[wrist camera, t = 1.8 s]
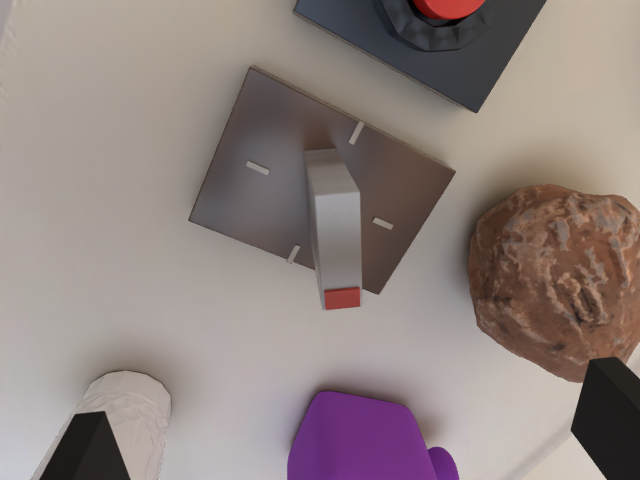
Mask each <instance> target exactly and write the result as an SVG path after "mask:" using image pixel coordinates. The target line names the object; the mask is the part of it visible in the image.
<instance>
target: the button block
mask: <svg viewBox="0 0 640 480" xmlns="http://www.w3.org/2000/svg"><path fill="white" fill-rule="evenodd" d="M545 2H546V0H485V1H484V2H483V4H482V5H481V6H480V7H479V8H478V9H477V10H475V11H474V12H473V13H471V14H469V15H467V16H465V17H462V18H458V19H449V20H435V19H431V18H429V17H427V16H425V15H424V14H422V13H421V12H420V11H419V10H418V8H417V7H416V6H415V4H414V2H413V0H297V3H296V5H295V7H294V10H293V14H295V15H297V16H299V17H300V18H302V19H304V20H306V21H308V22H309V23H311V24H313V25H315V26H317V27H318V28H320V29H322V30H324V31H326V32H327V33H329V34H331V35H333V36H334V37H336V38H338V39H340V40H342V41H343V42H345V43H347V44H349V45H351V46H352V47H354V48H356V49H358V50H360V51H361V52H363V53H365V54H367V55H368V56H370V57H372V58H374V59H376V60H377V61H379V62H381V63H383V64H385V65H386V66H388V67H390V68H392V69H393V70H395V71H397V72H399V73H401V74H402V75H404V76H406V77H408V78H410V79H411V80H413V81H415V82H417V83H419V84H420V85H422V86H424V87H426V88H427V89H429V90H431V91H433V92H435V93H436V94H438V95H440V96H442V97H444V98H445V99H447V100H449V101H451V102H452V103H454V104H456V105H458V106H460V107H461V108H464V109H466V110H469V111H471V112H474V113H478V111H479V109H480V108H481V106H482V105H483V103H484V101H485V100H486V98H487V96H488V95H489V93H490V92H491V90H492V88H493V87H494V85H495V83H496V82H497V80H498V79H499V77H500V75H501V74H502V72H503V70H504V69H505V67H506V66H507V64H508V62H509V61H510V59H511V57H512V56H513V54H514V52H515V51H516V49H517V48H518V46H519V44H520V43H521V41H522V39H523V38H524V36H525V35H526V33H527V31H528V30H529V28H530V26H531V25H532V23H533V22H534V20H535V18H536V17H537V15H538V13H539V12H540V10H541V9H542V7H543V5H544V4H545Z"/></svg>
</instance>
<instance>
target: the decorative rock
mask: <svg viewBox="0 0 640 480" xmlns="http://www.w3.org/2000/svg"><path fill="white" fill-rule="evenodd" d="M470 250H471V252H470V256H469V267H468V275H469V283H470V294H471V297H472V301H473V306H474V311H475V315H476V320H477V326H478V327H479V328H480V329H481V330H482V332H484V333H486V334H487V335H489V336H490V337H491V338H493V339H494V340H495V341H496V342H497V343H498V344H500V345H502V346H503V347H504V348H505V349H507V350H509V351H510V352H512V353H513V354H515V355H517V356H519V357H523V358H525V359H527V360H529V361H531V362H533V363H535V364H537V365H539V366H540V367H542V368H543V369H545V370H546V371H548V372H550V373H552V374H554V375H556V376H557V377H561V378H564V379H565V380H567V381H570V382H575V383H582V382H584V378H585V375H586V371H587V367H588V364H589V360H590V359H597V358H606V357H617V358H618V359H619V360H621V361H622V362H623V363H624V364H625V365H626V363H627V361H628V359H629V358H630V356H631V354H632V352H633V351H634V349H635V347H636V346H637V345H638V343H639V342H640V212H639V211H638V210H637V209H636V207H634V206H633V205H632V204H631V203H630V202H629V201H628V200H627V199H626V198H624V197H622V196H617V195H604V196H603V195H590V194H582V193H579V192H577V191H574V190H570V189H567V188H564V187H561V186H557V185H553V184H547V185H537V186H529V187H523V188H518V189H517V190H516V191H515V192H514V193H513V194H512V195H511V196H510V197H509V198H507V199H505V200H503V201H502V202H500V203H499V204H497V205H496V206H495V207H493V208H492V209H490V210H489V211H488V212H486V213H485V214H484V215H483V216H481V218H480V219H479V220H478V221H477V223H476V228H475V232H474V234H473V237H472V239H471V242H470Z"/></svg>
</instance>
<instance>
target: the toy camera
mask: <svg viewBox="0 0 640 480" xmlns="http://www.w3.org/2000/svg"><path fill="white" fill-rule="evenodd" d="M287 480H459V476H458V471H457V468H456V465H455V462H454V460H453V458H452V457H451V455H450V454H449V453H448V452H447V451H446V450H445V449H443V448H441V447H432V448H430V449H428V450H427V448H426V446H425V443H424V440H423V438H422V435H421V432H420V430H419V427H418V425H417V422H416V420H415V418H414V416H413V414H412V412H411V411H410V410H409V409H408V408H407V407H405V406H403V405H400V404H396V403H392V402H387V401H382V400H377V399H372V398H366V397H361V396H356V395H351V394H345V393H339V392H332V391H323V392H320V393H318V394H317V395H316V396H315V398H314V399H313V401H312V403H311V405H310V406H309V409H308V411H307V413H306V415H305V418H304V420H303V422H302V425H301V427H300V429H299V432H298V434H297V436H296V438H295V441H294V443H293V446H292V448H291V451H290V454H289V457H288V465H287Z"/></svg>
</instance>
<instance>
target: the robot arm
mask: <svg viewBox="0 0 640 480" xmlns="http://www.w3.org/2000/svg"><path fill="white" fill-rule="evenodd" d="M571 432H572V433H573V434H574V436H575V437H576V438H577V440H578V441H579V442H580V444H581V445H582V447H583V448H584V449H585V450H586V452H587V453H588V455H589V456H590V457H591V459H592V460H593V461H594V463H595V464H596V465H597V467H598V468H599V470H600V471H601V472H602V474H603V475H604V476H605V478H606V479H607V480H640V379H639V378H638V377H637V376H636V375H635V374H634V373H633V372H632V371H631V370H630V369H629V368H628V367H627V366H626V365H625V364H624V363H623V362H622V361H621V360H619V359H618V358H617V357H606V358H597V359H590V360H589V364H588V367H587V371H586V375H585V378H584V382H583V386H582V389H581V393H580V397H579V401H578V404H577V408H576V412H575V415H574V419H573V423H572V426H571ZM39 480H131V479H130V476H129V474H128V471H127V468H126V466H125V463H124V460H123V458H122V455H121V452H120V450H119V447H118V444H117V442H116V439H115V436H114V434H113V431H112V428H111V426H110V423H109V420H108V418H107V415H106V412H105V411H98V412H88V413H79V414H75V415H74V416H73V418H72V420H71V422H70V424H69V426H68V427H67V429H66V431H65V433H64V435H63V437H62V438H61V440H60V442H59V444H58V446H57V448H56V449H55V451H54V453H53V455H52V457H51V459H50V460H49V462H48V464H47V466H46V468H45V470H44V471H43V473H42V475H41V477H40V479H39Z"/></svg>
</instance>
